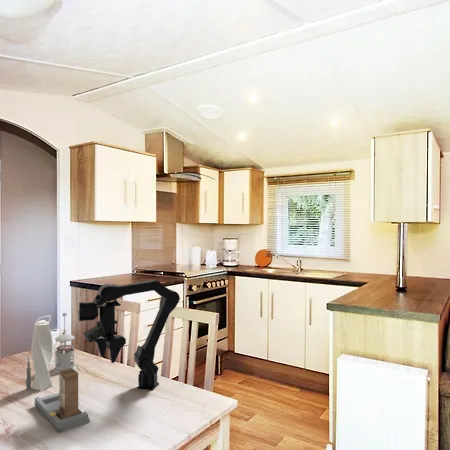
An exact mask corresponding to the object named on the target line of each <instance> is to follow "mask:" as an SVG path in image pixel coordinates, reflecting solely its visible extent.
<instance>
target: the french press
mask: <svg viewBox="0 0 450 450" xmlns="http://www.w3.org/2000/svg"><path fill="white" fill-rule="evenodd" d="M62 316H63V320H64V325H63V327H64V332H63V333H64V334H59V335H58V336H57V337H56V338H55V337H54V341H55V342H58V343H59V342H60V345H59V346H57V347H56V350H55V352H54V353H55V354H54V357H55V359H54V360H55V361H54V363H55V366H54V368H53V369H52V371H53V373H55V374H59V371H61V370H65V369H69V368H72V369H74V370H75V371H76V369H77V368H78V367H77V366H76V365H75V349H74V345H72V344H66V342H70V341H73V340H74V339H75V336H74V335H72V334H66V317H67V316H68V314H67V312H62ZM63 343H64V344H63ZM62 344H63V345H62Z"/></svg>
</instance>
